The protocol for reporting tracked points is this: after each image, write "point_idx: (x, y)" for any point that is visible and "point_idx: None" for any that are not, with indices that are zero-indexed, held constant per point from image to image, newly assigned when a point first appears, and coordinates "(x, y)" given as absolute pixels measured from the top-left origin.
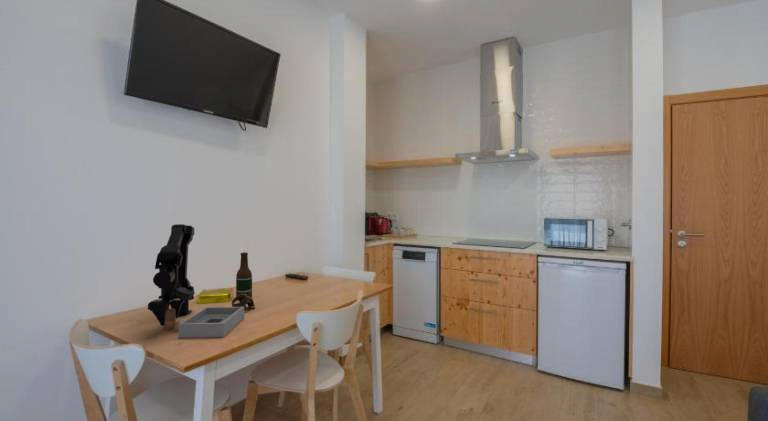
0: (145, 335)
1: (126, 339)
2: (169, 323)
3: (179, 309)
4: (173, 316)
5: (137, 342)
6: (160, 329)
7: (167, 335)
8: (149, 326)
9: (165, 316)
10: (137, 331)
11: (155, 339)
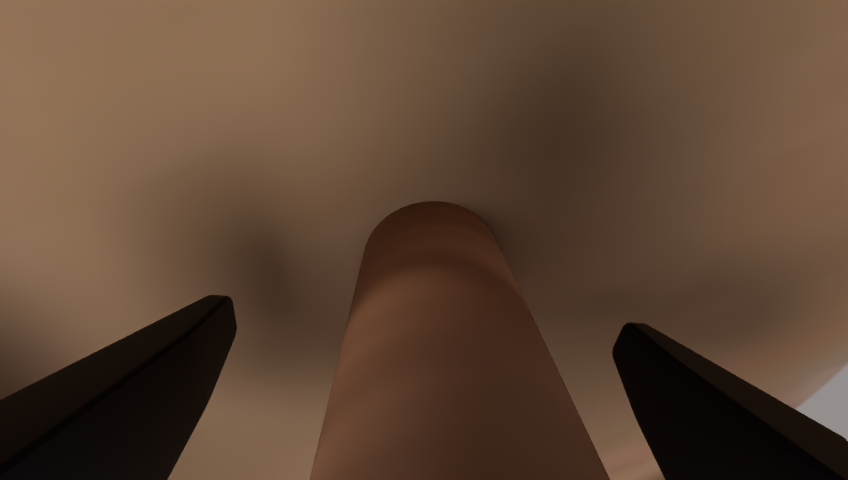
0: None
1: None
2: (520, 291)
3: (38, 404)
4: (510, 327)
5: (818, 365)
6: None
7: (751, 172)
8: None
9: (826, 451)
10: None
11: (833, 251)
